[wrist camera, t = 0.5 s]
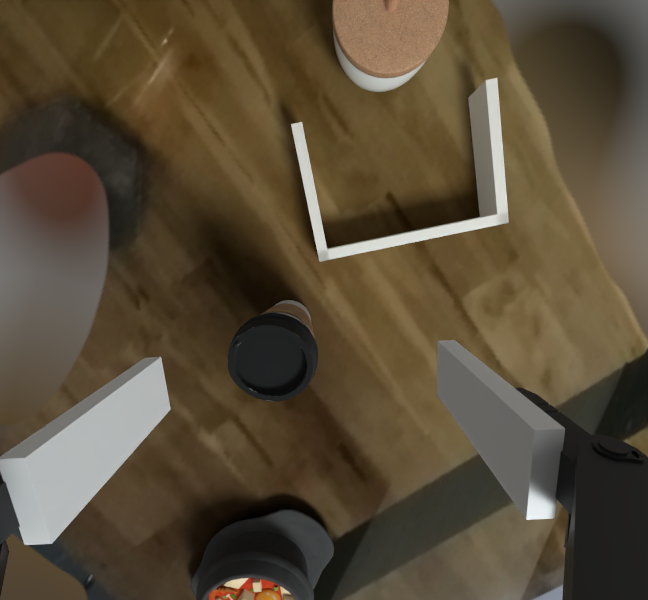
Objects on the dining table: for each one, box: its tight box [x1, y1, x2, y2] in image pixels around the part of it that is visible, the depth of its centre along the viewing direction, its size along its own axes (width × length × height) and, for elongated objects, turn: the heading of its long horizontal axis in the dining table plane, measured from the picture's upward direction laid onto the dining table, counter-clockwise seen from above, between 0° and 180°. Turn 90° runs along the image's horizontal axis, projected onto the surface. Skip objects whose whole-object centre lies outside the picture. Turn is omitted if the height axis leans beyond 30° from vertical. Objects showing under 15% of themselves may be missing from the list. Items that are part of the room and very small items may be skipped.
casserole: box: [191, 509, 334, 600], centre depth 45 cm, size 25×19×8 cm
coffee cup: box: [228, 300, 318, 401], centre depth 34 cm, size 8×8×15 cm
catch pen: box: [291, 78, 509, 262], centre depth 36 cm, size 15×22×4 cm
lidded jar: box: [332, 0, 449, 92], centre depth 30 cm, size 11×11×9 cm
